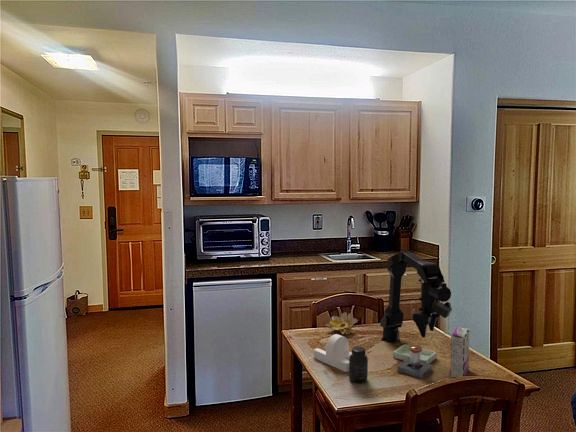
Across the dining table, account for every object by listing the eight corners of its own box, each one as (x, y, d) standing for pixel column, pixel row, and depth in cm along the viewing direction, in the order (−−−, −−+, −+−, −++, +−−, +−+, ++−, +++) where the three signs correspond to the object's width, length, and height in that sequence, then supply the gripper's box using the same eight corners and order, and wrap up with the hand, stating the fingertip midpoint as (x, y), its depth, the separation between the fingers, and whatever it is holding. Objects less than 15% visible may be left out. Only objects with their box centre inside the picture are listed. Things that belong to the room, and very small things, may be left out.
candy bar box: (455, 366, 167) (456, 326, 166) (468, 369, 164) (470, 328, 163) (449, 377, 157) (450, 334, 156) (463, 380, 155) (465, 337, 153)
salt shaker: (406, 371, 162) (407, 347, 162) (411, 366, 166) (412, 343, 165) (418, 374, 159) (419, 350, 159) (423, 370, 163) (423, 346, 162)
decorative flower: (319, 326, 208) (324, 306, 208) (335, 327, 215) (340, 308, 215) (339, 337, 196) (344, 316, 196) (356, 337, 203) (361, 317, 203)
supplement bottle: (347, 376, 158) (347, 345, 157) (364, 375, 159) (365, 344, 158) (351, 384, 151) (351, 352, 150) (369, 384, 152) (370, 351, 151)
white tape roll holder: (362, 365, 168) (362, 338, 167) (346, 372, 161) (346, 345, 161) (329, 352, 181) (329, 327, 180) (313, 358, 175) (313, 332, 174)
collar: (397, 371, 162) (397, 366, 162) (408, 362, 170) (408, 358, 170) (422, 379, 156) (422, 373, 156) (432, 370, 163) (432, 365, 163)
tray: (393, 357, 175) (393, 351, 175) (404, 349, 183) (404, 344, 183) (425, 367, 166) (426, 360, 166) (436, 358, 174) (436, 352, 174)
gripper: (441, 303, 152) (440, 345, 153) (456, 293, 167) (455, 331, 168) (411, 298, 159) (411, 338, 160) (429, 289, 174) (428, 326, 175)
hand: (427, 333), depth 165 cm, fingers open, 9 cm apart
